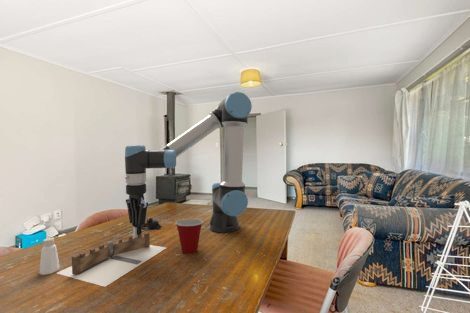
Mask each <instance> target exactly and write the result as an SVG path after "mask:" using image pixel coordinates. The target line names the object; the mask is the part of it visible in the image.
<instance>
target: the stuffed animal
mask: <svg viewBox="0 0 470 313" xmlns="http://www.w3.org/2000/svg"><path fill="white" fill-rule="evenodd" d="M161 228H162V224H160V223H159V221H158V220H155V219H154V218H152V217H146V222H145V225H142V226H141V229H143V230H142V233H143V232H144V233H145V232H146V231H149V230H154V231H158V230H160V229H161Z"/></svg>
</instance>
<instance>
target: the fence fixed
mask: <svg viewBox="0 0 470 313" xmlns="http://www.w3.org/2000/svg"><path fill="white" fill-rule="evenodd" d="M107 258H109V257H108V246H107V245H105V244H99V245H98V248H97V249H96V248H94V247H91V248H90V249H89V252H88V253H87V254H86V253H85V252H81V253H79V254H75V255H72V256H71V266H72V274H74V275H76V274H78V273H80V272H81V271H83V270H85V269H87V268H89V267H91V266H93V265H95V264H97V263H99V262H101V261H103V260H105V259H107Z"/></svg>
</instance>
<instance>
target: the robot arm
mask: <svg viewBox="0 0 470 313" xmlns="http://www.w3.org/2000/svg"><path fill="white" fill-rule="evenodd" d="M252 108H253V106H252V101H251V99H250V97H249V96H248V95H247V94H246V93H243V92H240V91H234V92H232V93H229V94H228V95H227V96H226V97H225V98H223V100H221V101H220V102H219V104H217V106H215V107H214V109H212V110H211V111H210V112H208V115H207V116H206V117H204V118H203V119H201V120H200V121H199V122H197V123H195V125H193V126H191V127H190V128H189V129H187V130H186V131H184V132H183V133H181V134H180V135H179V136H177V137H176V138H174V139H173V140H172V141H170V142H169V143H167V144H165V146H163V147H161V148H160V149H153V150H152V149H147V148H146V145H141V144H138V145H137V144H136V145H133V144H132V145H131V144H130V145H129V144H128V145H126V146H125V150H124V161H125V162H124V168H125V177H124V178H125V184H126V185H125V194H126V195H127V196H128V198H127V199H125V204H126V206H127V212H128V214H127V215H128V220H129V223H130V224H131V225H132V230H133V232H132V234H133V236H132V238H133V239H134V238H138V235H139V234H141V235H142V234H143V232H142V231H143V230H142V229H143V228H141V226H142V225H145V223H146V221H147V210H148V207H149V202H148V201H145V196H144V195H145V194H146V193H147V183H146V182H147V169H171V168H172V169H174V168H176V166H177V158H178V157H180V156H181V155H182V154H183V153H185V152H187V151H189V149H191V148H192V147H193V146H194V145H196V144H197V143H199V142H201V141H202V140H204V138H206V137H208V136H209V135H210V134H211V133H213V132H215V131H216V130H218V129H222V128H223V127H224V141H223V142H224V146H223V148H224V149H223V166H222V167H223V168H222V169H223V170H222V171H223V173H222V174H223V175H222V181H221V182H215V183H213V184H212V186H211V187H212V188H211V192H212V193H211V194H212V196H211V197H212V198H211V199H212V215H211V218H210V221H209V230H210V231H212V232H216V233H231V232H235V231H237V230H238V229H240V221H239V218H238V216H240V215H242V214H243V213H244V212H245V211H246V210H247V208H248V205H249V204H248V203H249V199H248V196H247V194H246V184H245V183H244V182H243V160H244V158H243V157H244V140H245V139H244V138H245V128H246V126H248V121H249V120H248V118H249V115H250V114H251V111H252ZM142 236H143V235H142Z"/></svg>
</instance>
